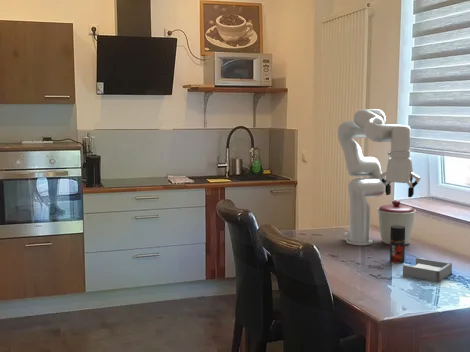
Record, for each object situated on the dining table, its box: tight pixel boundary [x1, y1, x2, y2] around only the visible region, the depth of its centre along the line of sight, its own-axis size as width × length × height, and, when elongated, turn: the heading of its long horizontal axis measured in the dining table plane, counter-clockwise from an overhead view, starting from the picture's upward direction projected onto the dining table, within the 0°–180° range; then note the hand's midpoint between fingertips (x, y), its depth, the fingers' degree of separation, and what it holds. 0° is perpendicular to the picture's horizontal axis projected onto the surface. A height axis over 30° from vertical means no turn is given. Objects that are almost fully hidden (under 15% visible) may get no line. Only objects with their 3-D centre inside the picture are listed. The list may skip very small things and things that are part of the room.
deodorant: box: [389, 225, 406, 264], centre depth 229 cm, size 6×6×15 cm
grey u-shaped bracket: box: [402, 257, 453, 283], centre depth 212 cm, size 14×14×4 cm
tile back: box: [414, 264, 430, 269], centre depth 214 cm, size 5×5×3 cm
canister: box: [376, 199, 417, 245], centre depth 260 cm, size 18×18×21 cm
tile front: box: [427, 266, 441, 271], centre depth 210 cm, size 5×5×3 cm
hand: (399, 195), depth 227 cm, fingers open, 9 cm apart
